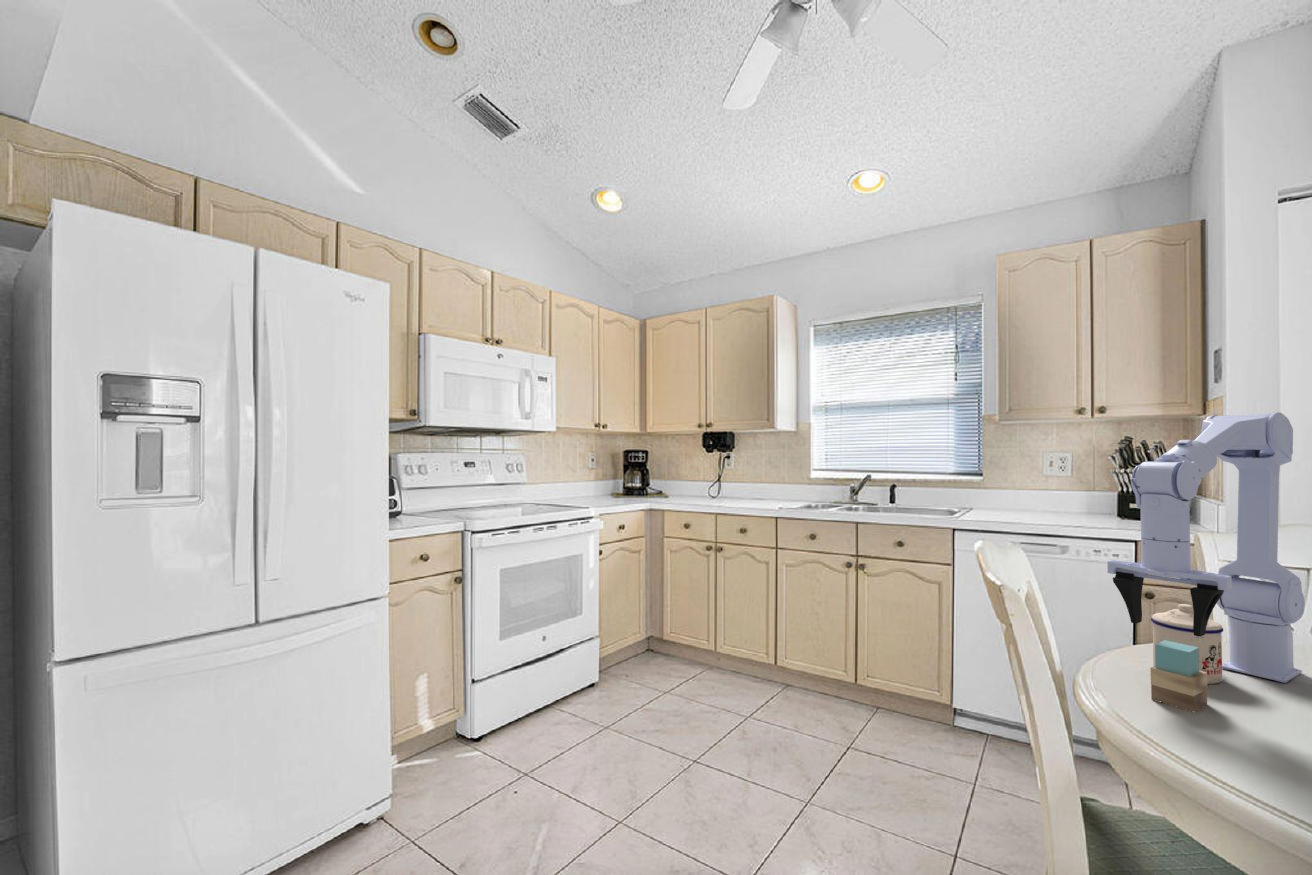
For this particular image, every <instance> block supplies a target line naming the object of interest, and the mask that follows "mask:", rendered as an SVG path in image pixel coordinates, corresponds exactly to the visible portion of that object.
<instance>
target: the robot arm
mask: <svg viewBox="0 0 1312 875" xmlns="http://www.w3.org/2000/svg"><path fill="white" fill-rule="evenodd" d="M1200 432H1201V433H1200V434H1199V435H1198V436H1197V437H1196V438H1195V439H1194V440H1193V439H1180V440H1179V441H1177V442H1176V445H1174V446H1173V447H1172V448H1170V449H1169V450H1168V451H1166V452H1165V453H1163V454H1161V456H1160V457H1158V458H1156V459H1155V460H1154V461H1143V462H1141V463H1140V464H1137V465H1136V466H1135V467H1134V469H1133V470H1132V474H1131V478H1130V485H1131V489H1132V491H1133V493H1134V496H1135V505H1136V507H1137V508H1138V509H1140V540H1141V541H1140V543H1141V544H1140V546H1141V547H1140V549H1141V551H1140V552H1141V554H1140V555H1141V562H1133V561H1121V560H1115V559H1112V560H1107V563H1106V564H1107V574H1112V575H1113V574H1114V575H1115V576H1114V577H1112V580H1113V584H1114V585H1115V587H1116V588H1117V590H1118V592H1119V593H1120V595H1121V597H1122V599H1123V601H1124V604H1125V605H1126V609H1127V612H1128V615H1129V619H1130V622H1131V624H1139V623H1142V621H1143V611H1142V610H1143V609H1142V608H1143V607H1142V596H1143V588H1144V587H1143V585H1144V579H1151V580H1156V581H1158V580H1159V581H1163V582H1172V583H1178V584H1183V585H1184V584H1185V585H1192V586H1194V587H1191V588H1190V589H1189V592H1190V597H1191V602H1192V603H1191V604H1192V606H1193V612H1194V620H1193V632H1194V636H1199V637H1201V636H1203V635H1205V631H1206V626H1207V623H1208V620H1209V619H1210V617H1211V614H1212V613H1213V610H1214V608H1215V607H1216V605H1217V606H1218V607H1219V609H1221V610H1223V612H1224V613H1223V615H1225V616H1228V630H1229V631H1228V632H1229V633H1228V635H1229V660H1228V661H1226V662H1222V669H1225V670H1229V671H1233V672H1238V673H1242V674H1246V675H1249V676H1254V677H1259V678H1263V679H1268V680H1271V681H1272V680H1273V681H1276V682H1279V683H1288V682H1290V680H1293V679H1295V677H1297V676H1299V675H1300V674H1301V673H1302V672H1303V670H1302V669H1301V668H1298V667H1294V664H1295V663H1294V636H1293V632H1292V629H1291V628H1290V625H1292V624H1295V623H1297V622H1298V621H1299V620H1300V619H1302V617H1303V615H1304V612H1305V607H1306V603H1305V602H1306V601H1305V596H1304V593H1303V589H1302V581H1301V578H1300V577H1299V576H1298V575H1296V574H1295V573H1294V572H1292V571H1290V570H1289V569H1288V568H1287V567H1285V566H1283V564H1282V565H1281V564H1280V563H1279V562H1278V554H1279V553H1278V548H1279V546H1278V545H1279V542H1278V541H1279V498H1280V496H1279V495H1280V494H1279V492H1280V487H1279V486H1280V471H1281V466H1282V465H1284V464H1288V463H1291V462H1292V460H1293V459H1292V458H1293V457H1292V456H1293V454H1294V451H1293V450H1294V448H1293V447H1294V428H1293V426H1292V424H1291V421H1290V419H1289V418H1288V417H1287V416H1286V415H1285V414H1283V413H1282V412H1279V411H1277V412H1272V413H1254V414H1253V413H1252V414H1249V413H1248V414H1232V415H1230V414H1228V415H1217V414H1216V415H1214V414H1211V415H1209V416H1208V417H1206V418H1205V419H1203V420H1202V426H1201V431H1200ZM1218 458H1219V460H1221V461H1222V462H1225V463H1229V464H1232V465H1234V466H1235V467H1236V469H1237V470H1238V488H1237V489H1238V491H1237V492H1238V493H1237V495H1238V496H1237V530H1236V531H1237V534H1236V538H1237V541H1236V559H1235V560H1234V561H1231V562H1229V563H1226V564H1225V565H1222V566H1221V567H1219V569H1218V572H1217V573H1214V572H1209V571H1203V570H1198V569H1197V570H1196V569H1192V566H1191V564H1192V563H1191V532H1190V531H1191V527H1190V526H1191V524H1190V519H1191V518H1190V516H1191V514H1190V500H1191V499H1194V498H1195V497H1196V495H1197V493H1198V490H1199V486H1200V485H1201V483H1202V481H1203V478H1204V477H1205V476H1206V475H1207V474H1208V473H1210V472H1212V471H1213V470H1214V469H1215V468H1216V466H1217V464H1218ZM1245 577H1250V578H1245ZM1252 578H1254V579H1252ZM1258 579H1262V580H1258ZM1265 580H1268V581H1265ZM1195 586H1196V587H1195Z"/></svg>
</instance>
